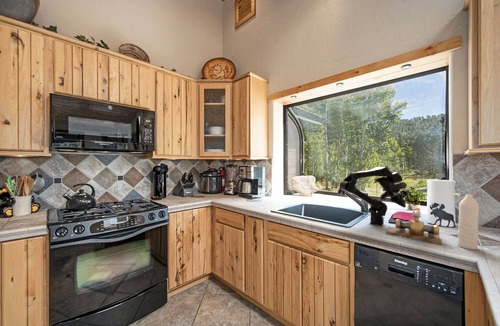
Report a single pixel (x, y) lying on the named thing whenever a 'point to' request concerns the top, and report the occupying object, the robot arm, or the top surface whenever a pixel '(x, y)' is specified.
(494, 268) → the top surface
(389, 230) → the valve board
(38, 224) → the top surface
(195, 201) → the top surface
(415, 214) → the valve lever
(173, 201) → the top surface
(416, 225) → the valve body
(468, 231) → the water bottle
